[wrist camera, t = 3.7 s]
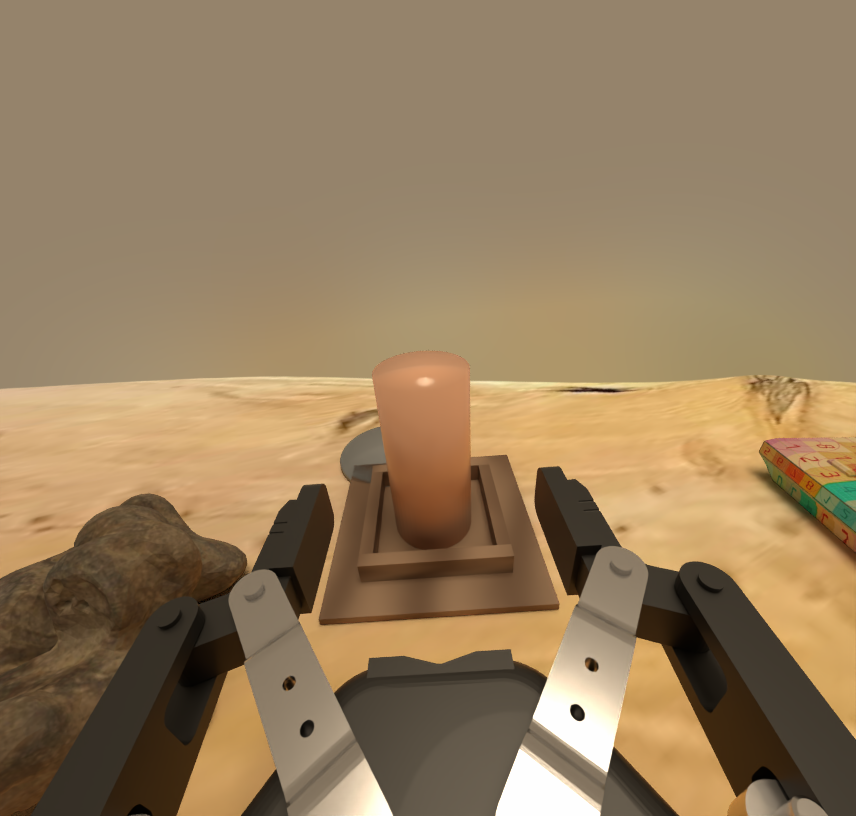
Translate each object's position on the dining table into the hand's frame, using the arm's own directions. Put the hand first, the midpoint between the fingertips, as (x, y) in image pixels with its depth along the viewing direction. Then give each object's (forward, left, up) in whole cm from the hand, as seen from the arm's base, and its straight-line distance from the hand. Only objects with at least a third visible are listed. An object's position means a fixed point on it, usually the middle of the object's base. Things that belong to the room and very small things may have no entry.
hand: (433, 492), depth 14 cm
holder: (-8, +8, -15) cm, 19 cm away
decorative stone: (-16, -13, -15) cm, 26 cm away
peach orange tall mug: (-9, +9, -14) cm, 19 cm away
